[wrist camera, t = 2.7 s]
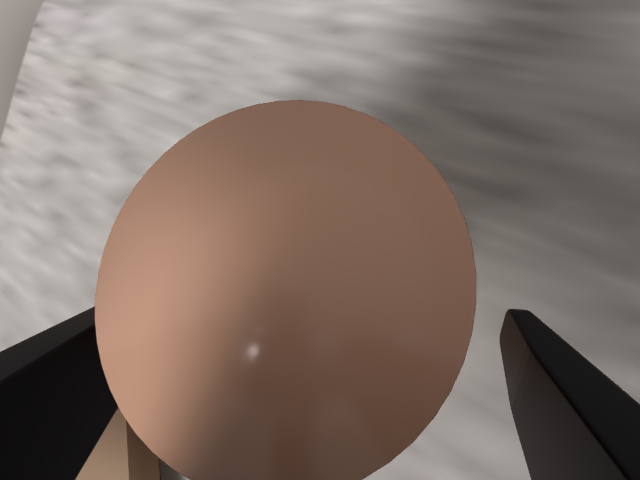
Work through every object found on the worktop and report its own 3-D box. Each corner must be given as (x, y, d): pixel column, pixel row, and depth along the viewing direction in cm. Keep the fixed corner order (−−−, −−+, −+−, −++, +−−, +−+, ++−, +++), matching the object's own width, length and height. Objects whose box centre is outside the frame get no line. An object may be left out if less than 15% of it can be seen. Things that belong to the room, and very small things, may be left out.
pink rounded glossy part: (432, 360, 15) (552, 456, 4) (306, 387, 16) (101, 534, 5) (394, 236, 17) (402, 53, 6) (282, 266, 18) (89, 160, 6)
